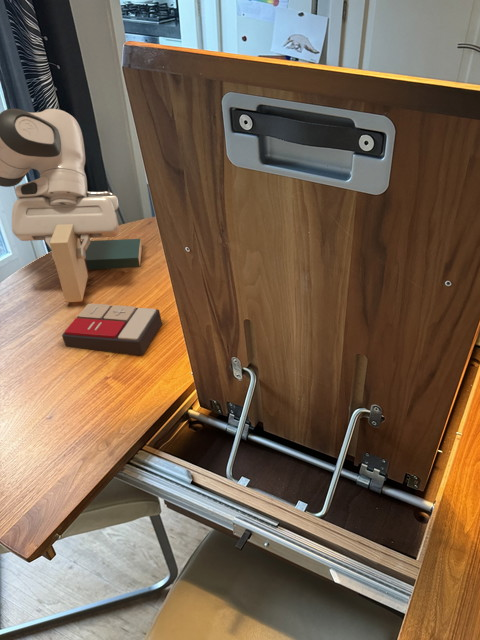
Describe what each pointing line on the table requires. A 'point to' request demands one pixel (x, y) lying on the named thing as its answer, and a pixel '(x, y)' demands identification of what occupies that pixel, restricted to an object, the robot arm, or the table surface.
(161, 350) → the table surface
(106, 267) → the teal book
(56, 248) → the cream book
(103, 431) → the table surface
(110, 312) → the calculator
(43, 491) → the table surface
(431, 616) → the table surface
